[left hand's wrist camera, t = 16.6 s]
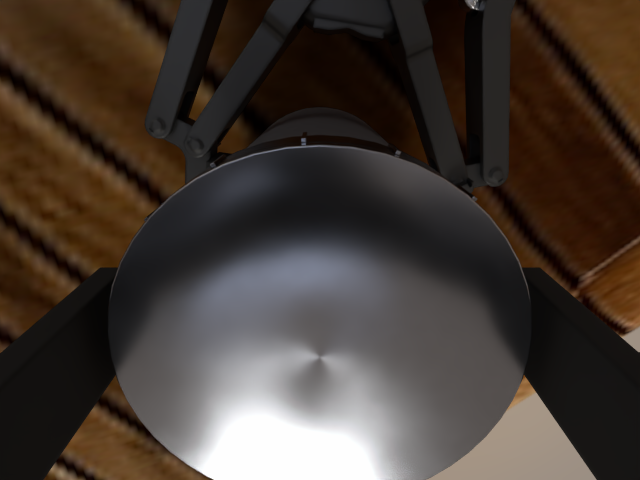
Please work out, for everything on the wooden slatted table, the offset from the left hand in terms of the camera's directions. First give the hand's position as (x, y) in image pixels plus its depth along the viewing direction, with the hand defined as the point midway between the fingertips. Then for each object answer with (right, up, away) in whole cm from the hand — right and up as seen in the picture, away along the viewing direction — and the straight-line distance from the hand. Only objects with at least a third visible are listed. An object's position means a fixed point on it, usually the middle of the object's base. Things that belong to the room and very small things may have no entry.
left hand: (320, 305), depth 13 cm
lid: (0, -1, -2) cm, 2 cm away
